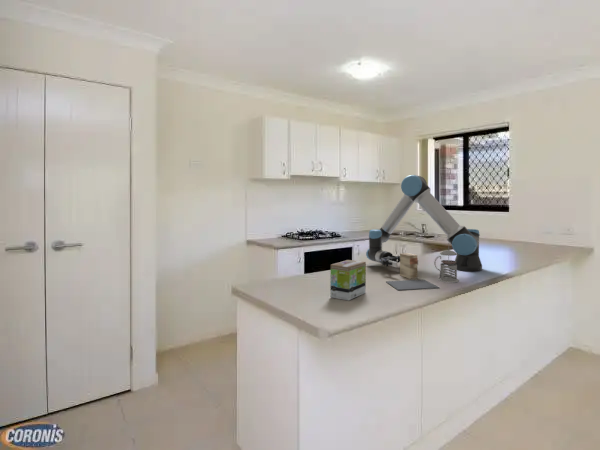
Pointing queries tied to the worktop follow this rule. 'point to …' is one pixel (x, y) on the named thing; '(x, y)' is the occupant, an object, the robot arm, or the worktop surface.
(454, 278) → the french press
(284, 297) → the worktop surface
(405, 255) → the birch block
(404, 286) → the mat
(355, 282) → the tea box
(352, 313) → the worktop surface
